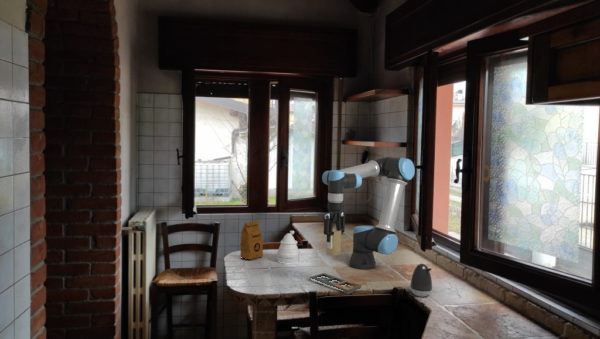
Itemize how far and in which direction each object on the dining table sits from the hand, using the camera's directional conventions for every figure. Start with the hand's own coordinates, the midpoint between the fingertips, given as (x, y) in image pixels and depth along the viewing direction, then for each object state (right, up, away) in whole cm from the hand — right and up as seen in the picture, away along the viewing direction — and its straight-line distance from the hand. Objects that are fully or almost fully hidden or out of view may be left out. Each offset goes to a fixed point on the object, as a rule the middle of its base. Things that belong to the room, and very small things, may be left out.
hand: (333, 247), depth 231 cm
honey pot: (-24, -15, +40) cm, 49 cm away
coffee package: (-46, -14, +44) cm, 65 cm away
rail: (+1, -19, +1) cm, 19 cm away
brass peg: (0, -3, 0) cm, 3 cm away
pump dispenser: (+41, -21, -10) cm, 47 cm away
